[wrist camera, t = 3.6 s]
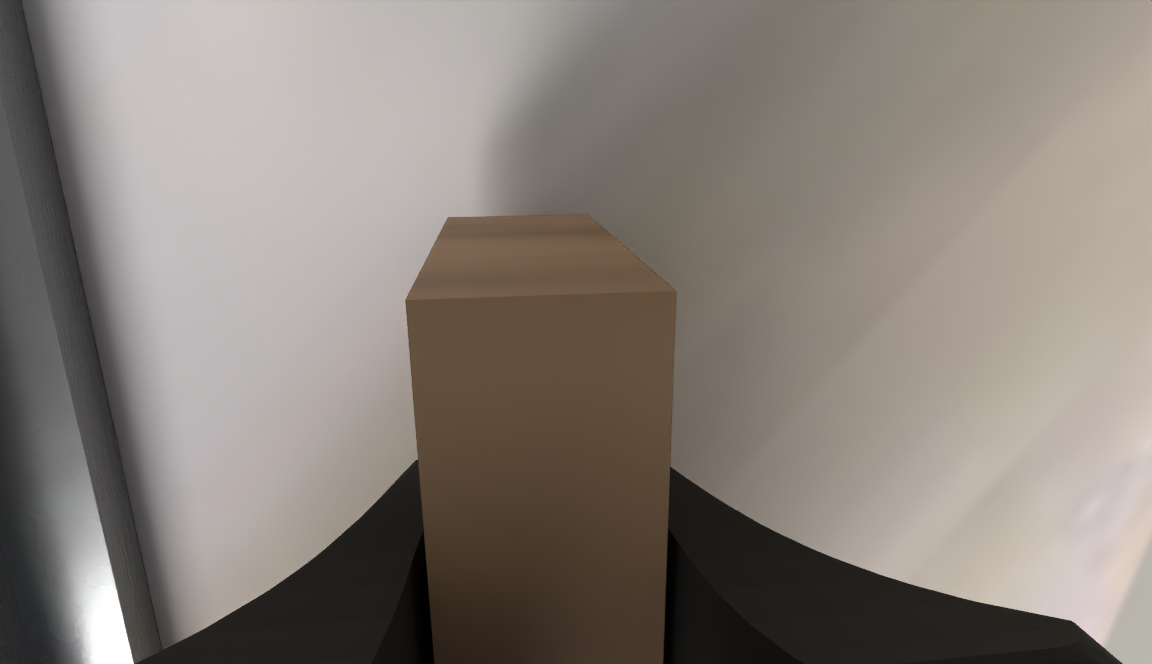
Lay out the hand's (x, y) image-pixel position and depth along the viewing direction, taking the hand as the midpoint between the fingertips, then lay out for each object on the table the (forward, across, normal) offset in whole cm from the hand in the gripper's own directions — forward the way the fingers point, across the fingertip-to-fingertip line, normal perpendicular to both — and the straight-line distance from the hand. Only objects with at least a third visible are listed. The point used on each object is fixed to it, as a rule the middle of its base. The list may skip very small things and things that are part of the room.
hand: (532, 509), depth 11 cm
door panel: (+2, 0, 0) cm, 2 cm away
